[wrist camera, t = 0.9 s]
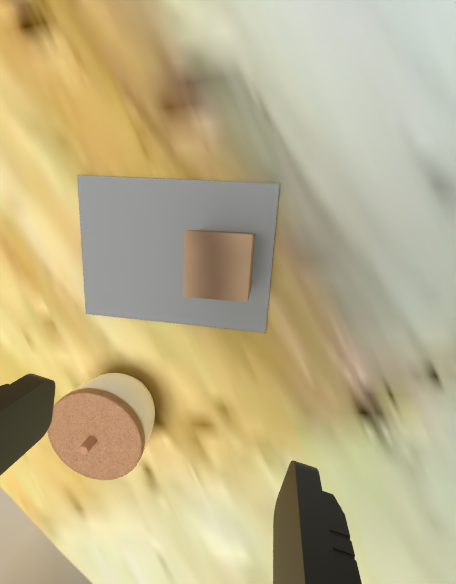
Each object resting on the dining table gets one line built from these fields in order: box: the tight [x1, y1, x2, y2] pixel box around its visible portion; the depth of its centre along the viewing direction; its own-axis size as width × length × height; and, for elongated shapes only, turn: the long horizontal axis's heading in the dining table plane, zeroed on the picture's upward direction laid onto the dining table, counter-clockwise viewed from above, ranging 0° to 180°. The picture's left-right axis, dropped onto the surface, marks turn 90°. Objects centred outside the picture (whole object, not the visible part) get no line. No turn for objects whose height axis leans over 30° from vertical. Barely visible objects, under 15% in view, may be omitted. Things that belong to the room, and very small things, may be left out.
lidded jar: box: [48, 373, 155, 480], centre depth 33 cm, size 11×11×9 cm
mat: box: [77, 175, 280, 333], centre depth 32 cm, size 22×16×1 cm
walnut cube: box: [183, 230, 256, 303], centre depth 28 cm, size 6×6×6 cm
